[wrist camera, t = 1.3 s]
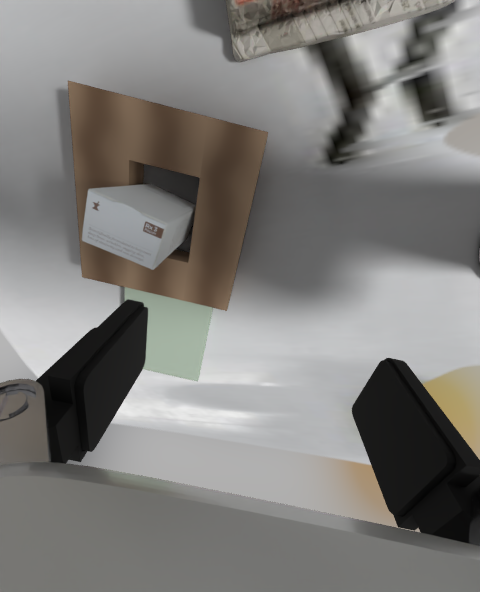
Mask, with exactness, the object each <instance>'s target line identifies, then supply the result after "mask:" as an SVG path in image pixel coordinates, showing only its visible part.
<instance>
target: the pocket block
mask: <svg viewBox="0 0 480 592" xmlns="http://www.w3.org/2000/svg"><path fill="white" fill-rule="evenodd" d="M68 91H69V104H70V118H71V131H72V145H73V159H74V172H75V186H76V200H77V213H78V227H79V241H80V254H81V268H82V277H84V278H88V279H92V280H97V281H101V282H105V283H110V284H114V285H118V286H122V287H127V288H131V289H135V290H140V291H144V292H148V293H152V294H157V295H161V296H165V297H170V298H174V299H178V300H183V301H187V302H191V303H195V304H200V305H204V306H208V307H213V308H217V309H221V310H225V311H227V308H228V304H229V300H230V296H231V291H232V287H233V283H234V278H235V274H236V270H237V266H238V261H239V257H240V253H241V248H242V244H243V240H244V236H245V231H246V227H247V223H248V218H249V214H250V210H251V205H252V201H253V197H254V193H255V188H256V184H257V180H258V175H259V171H260V167H261V162H262V158H263V154H264V150H265V145H266V141H267V137H268V132H265V131H261V130H257V129H253V128H250V127H246V126H242V125H238V124H234V123H230V122H226V121H222V120H219V119H215V118H211V117H207V116H203V115H199V114H195V113H191V112H188V111H184V110H180V109H176V108H172V107H168V106H164V105H160V104H157V103H153V102H149V101H145V100H141V99H137V98H133V97H130V96H126V95H122V94H118V93H114V92H110V91H106V90H102V89H99V88H95V87H91V86H87V85H83V84H79V83H75V82H71V81H68ZM144 164H147V165H151V166H155V167H159V168H163V169H167V170H171V171H175V172H179V173H183V174H187V175H191V176H195V177H199V178H200V180H199V188H198V195H197V203H196V210H195V217H194V225H193V232H192V239H191V247H190V253H189V252H185V251H181V250H177V249H175V250H174V251H173V252H172V253H171V254H170V255H169V256H168V257H167V258H165V259H164V260H163V261H162V262H161V263H160V264H159V265H158V266H157V267H156V268H155V269H154V270H152V269H150V268H147V267H145V266H142V265H140V264H137V263H135V262H133V261H130V260H128V259H125V258H123V257H121V256H118V255H116V254H113V253H111V252H108V251H106V250H103V249H101V248H99V247H96V246H94V245H91V244H89V243H86V242H84V241H82V231H83V223H84V216H85V208H86V201H87V194H88V190H89V189H92V188H104V187H118V186H130V185H141V184H143V179H144Z"/></svg>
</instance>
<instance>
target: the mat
mask: <svg viewBox="0 0 480 592" xmlns="http://www.w3.org/2000/svg"><path fill="white" fill-rule="evenodd" d="M127 299H130V300H134V301H139V302H143V303H144V307H147V308H148V324H147V342H146V360H145V364H144V367H143V369H144V370H149V371H153V372H158V373H162V374H167V375H171V376H176V377H180V378H185V379H189V380H194V381H198V379H199V375H200V370H201V365H202V360H203V355H204V350H205V345H206V340H207V335H208V330H209V325H210V320H211V315H212V310H213V307H208V306H204V305H200V304H195V303H191V302H187V301H183V300H178V299H174V298H170V297H165V296H161V295H157V294H152V293H148V292H144V291H140V290H135V289H131V288H127V287H125V301H126V300H127ZM125 301H124V302H125Z"/></svg>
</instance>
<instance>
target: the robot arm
mask: <svg viewBox="0 0 480 592" xmlns="http://www.w3.org/2000/svg"><path fill="white" fill-rule="evenodd" d="M479 261H480V250H479ZM147 324H148V308H147V307H144V303H143V302H139V301H134V300H130V299H127V300H126V301H125V302H124V303H123V304H122V305H121V306H120V307H119V308H117V309H116V310H115V311H114V312H113V313H112V314H111V315H110V316H109V317H108V318H107V319H106V320H105V321H104V322H103V323H102V324H101V325H100V326H99V327H98V328H93V329H92V330H90V331H89V332H88V333H87V334H86V335H85V336H84V337H83V338H82V339H81V340H79V341H78V342H77V343H76V344H75V345H74V346H73V347H72V348H71V349H70V350H69V351H68V352H66V353H65V354H64V355H63V356H62V357H61V358H60V359H59V360H58V361H57V362H56V363H55V364H54V365H52V366H51V367H50V368H49V369H48V370H47V371H46V372H45V373H44V374H43V375H42V376H41V377H40V378H38V379H37V380H36V381H33V380H30V379H16V380H9V381H6V382H2V383H0V592H480V460H479V459H478V457H477V456H476V455H475V453H474V452H473V451H472V449H471V448H470V447H469V445H468V444H467V443H466V441H465V440H464V439H463V438H462V436H461V435H460V434H459V432H458V431H457V430H456V428H455V427H454V426H453V424H452V423H451V422H450V420H449V419H448V418H447V417H446V415H445V414H444V412H443V411H442V410H441V409H440V407H439V406H438V405H437V403H436V402H435V401H434V399H433V398H432V397H431V395H430V394H429V393H428V391H427V390H426V389H425V387H424V386H423V385H422V383H421V382H420V381H419V380H418V378H417V377H416V376H415V374H414V373H413V372H412V370H411V369H410V368H409V366H408V365H407V364H406V363H405V362H404V361H401V360H396V359H392V358H386V359H385V360H383V361H381V362H380V363H379V364H378V366H377V368H376V369H375V371H374V372H373V374H372V376H371V377H370V379H369V380H368V382H367V384H366V385H365V387H364V388H363V390H362V392H361V393H360V395H359V397H358V398H357V400H356V401H355V403H354V405H353V407H352V414H353V417H354V420H355V423H356V425H357V428H358V431H359V433H360V436H361V439H362V441H363V444H364V446H365V449H366V452H367V454H368V457H369V460H370V462H371V465H372V468H373V470H374V473H375V476H376V478H377V481H378V484H379V486H380V489H381V491H382V494H383V497H384V499H385V502H386V505H387V507H388V509H389V511H390V512H391V513H392V514H393V515H394V518H395V520H396V523H397V525H398V527H400V528H396V527H391V526H386V525H382V524H377V523H372V522H367V521H363V520H358V519H353V518H349V517H344V516H339V515H334V514H329V513H324V512H320V511H315V510H310V509H305V508H300V507H295V506H290V505H285V504H281V503H276V502H271V501H266V500H261V499H256V498H251V497H246V496H241V495H236V494H231V493H226V492H221V491H216V490H211V489H206V488H201V487H196V486H191V485H186V484H181V483H176V482H171V481H165V480H161V479H156V478H151V477H146V476H140V475H134V474H129V473H122V472H118V471H112V470H107V469H101V468H95V467H89V466H81V465H73V464H66V463H67V461H68V460H73V461H78V462H81V460H82V459H83V457H84V456H85V454H86V452H87V451H90V452H92V451H93V450H94V449H95V447H96V446H97V444H98V443H99V441H100V439H101V437H102V436H103V434H104V433H105V431H106V429H107V427H108V426H109V424H110V423H111V421H112V419H113V418H114V416H115V414H116V413H117V411H118V409H119V408H120V406H121V404H122V403H123V401H124V399H125V398H126V396H127V394H128V393H129V391H130V389H131V388H132V386H133V384H134V383H135V381H136V379H137V378H138V376H139V374H140V373H141V371H142V369H143V367H144V364H145V360H146V342H147ZM418 527H419V529H420V532H421V533H420V532H415V531H410V530H416V529H417V528H418ZM401 528H405V529H410V530H405V529H401Z"/></svg>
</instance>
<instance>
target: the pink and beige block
mask: <svg viewBox="0 0 480 592" xmlns="http://www.w3.org/2000/svg"><path fill="white" fill-rule="evenodd" d="M454 1H455V0H226V6H227V12H228V19H229V26H230V33H231V41H232V48H233V55H234V58H235V60H236V61H237V62H242V61H246V60H249V59H253V58H257V57H260V56H264V55H267V54H271V53H276V52H281V51H286V50H291V49H296V48H301V47H305V46H308V45H312V44H316V43H320V42H324V41H329V40H333V39H337V38H342V37H346V36H349V35H353V34H357V33H361V32H365V31H368V30H372V29H376V28H379V27H383V26H386V25H389V24H393V23H396V22H400V21H403V20H406V19H410V18H413V17H417V16H420V15H423V14H427V13H430V12H432V11H435V10H438V9H440V8H443V7H445V6H447V5H449V4H450V3H452V2H454Z"/></svg>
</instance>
